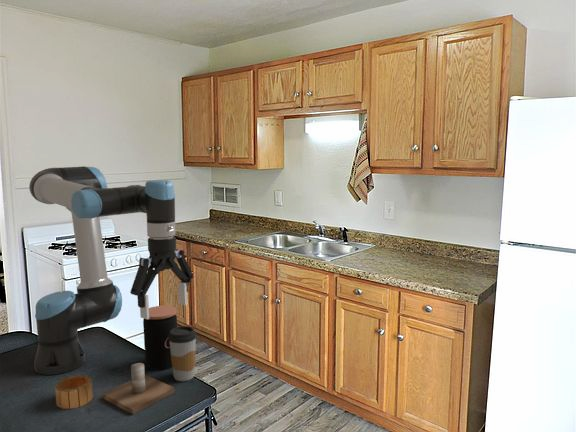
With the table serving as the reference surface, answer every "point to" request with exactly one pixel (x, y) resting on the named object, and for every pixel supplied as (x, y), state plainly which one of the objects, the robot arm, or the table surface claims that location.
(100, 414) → the table surface
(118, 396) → the post block
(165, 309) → the coffee jar
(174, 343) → the coffee cup
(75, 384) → the orange ring
